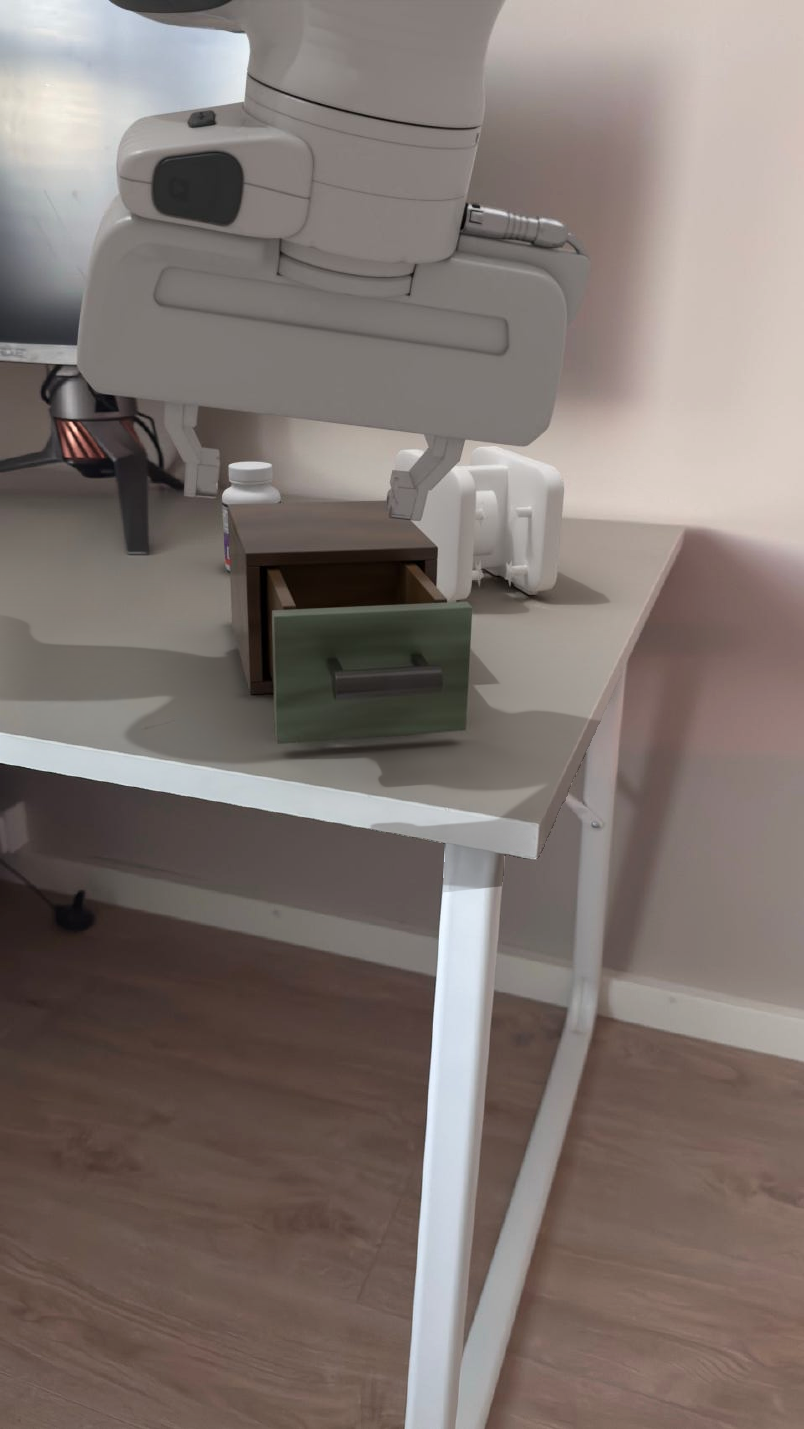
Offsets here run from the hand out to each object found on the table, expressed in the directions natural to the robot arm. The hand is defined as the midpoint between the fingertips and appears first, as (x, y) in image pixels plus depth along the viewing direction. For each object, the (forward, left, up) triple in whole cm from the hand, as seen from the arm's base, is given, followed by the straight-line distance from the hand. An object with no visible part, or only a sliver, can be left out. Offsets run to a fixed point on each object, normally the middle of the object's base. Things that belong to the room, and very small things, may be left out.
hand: (303, 503), depth 50 cm
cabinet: (+5, +26, -17) cm, 32 cm away
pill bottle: (+2, +50, -17) cm, 53 cm away
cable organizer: (+21, +42, -17) cm, 50 cm away
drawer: (+5, +13, -16) cm, 21 cm away
